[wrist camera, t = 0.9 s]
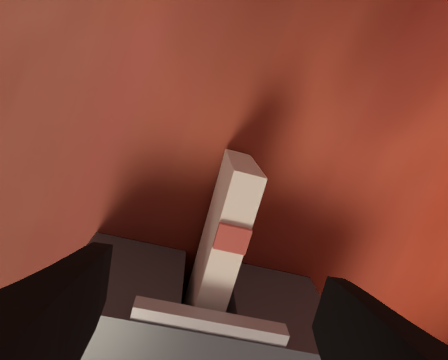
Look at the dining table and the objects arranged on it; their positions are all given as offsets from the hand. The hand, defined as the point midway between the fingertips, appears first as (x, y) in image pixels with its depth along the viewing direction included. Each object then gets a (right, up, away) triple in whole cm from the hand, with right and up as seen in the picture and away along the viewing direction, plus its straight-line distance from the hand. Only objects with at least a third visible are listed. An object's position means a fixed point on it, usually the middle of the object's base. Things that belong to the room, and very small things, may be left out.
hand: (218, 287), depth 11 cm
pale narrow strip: (-1, 0, +10) cm, 10 cm away
